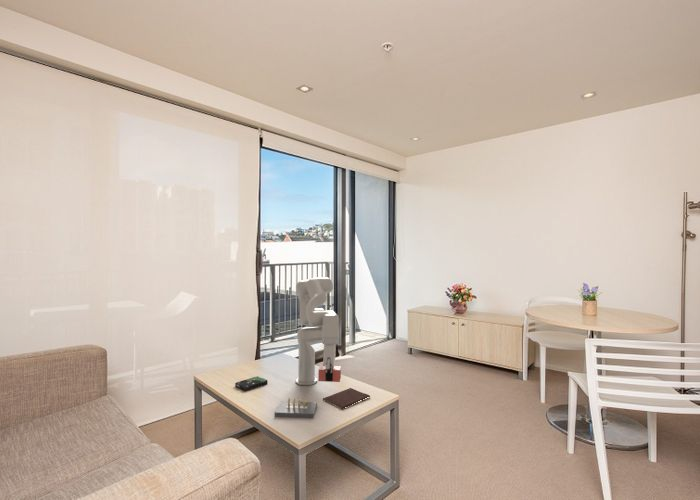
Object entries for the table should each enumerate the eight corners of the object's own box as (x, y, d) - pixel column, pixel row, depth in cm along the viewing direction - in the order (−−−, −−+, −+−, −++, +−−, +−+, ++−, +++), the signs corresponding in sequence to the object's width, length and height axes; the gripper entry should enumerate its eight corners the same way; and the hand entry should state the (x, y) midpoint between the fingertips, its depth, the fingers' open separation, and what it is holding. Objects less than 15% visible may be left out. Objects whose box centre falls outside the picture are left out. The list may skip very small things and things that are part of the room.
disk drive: (245, 392, 190) (267, 384, 201) (245, 387, 190) (267, 379, 201) (234, 387, 197) (257, 380, 208) (234, 382, 197) (257, 375, 208)
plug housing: (319, 377, 168) (320, 365, 168) (340, 377, 167) (340, 366, 167) (318, 381, 162) (318, 369, 162) (339, 382, 162) (340, 370, 162)
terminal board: (281, 405, 174) (281, 393, 174) (317, 406, 173) (317, 394, 173) (274, 416, 162) (274, 403, 162) (313, 418, 161) (313, 405, 161)
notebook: (322, 401, 181) (322, 397, 181) (350, 390, 194) (350, 386, 194) (342, 410, 170) (342, 406, 170) (370, 399, 184) (370, 395, 184)
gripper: (324, 335, 173) (324, 372, 173) (319, 344, 156) (319, 385, 156) (339, 335, 173) (339, 372, 173) (336, 345, 156) (335, 386, 156)
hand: (329, 378), depth 165 cm, fingers closed on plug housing, 5 cm apart
